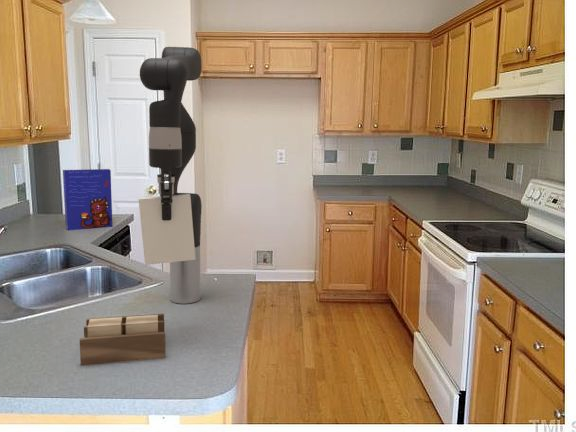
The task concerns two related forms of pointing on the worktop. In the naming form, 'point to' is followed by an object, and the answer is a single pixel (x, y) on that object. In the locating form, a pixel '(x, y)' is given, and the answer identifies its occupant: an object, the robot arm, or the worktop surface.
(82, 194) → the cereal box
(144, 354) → the rack
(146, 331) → the offcut block
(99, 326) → the offcut block
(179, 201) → the cutting board
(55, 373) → the worktop surface
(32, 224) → the worktop surface
